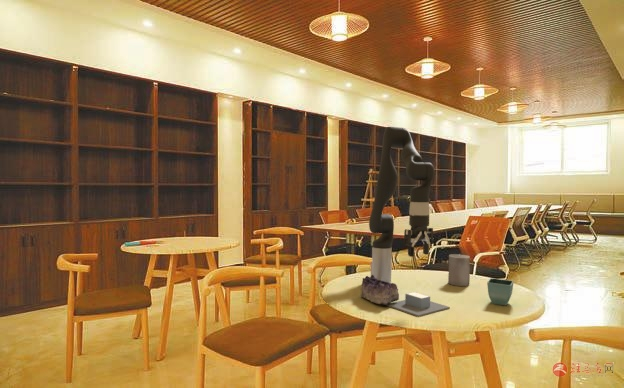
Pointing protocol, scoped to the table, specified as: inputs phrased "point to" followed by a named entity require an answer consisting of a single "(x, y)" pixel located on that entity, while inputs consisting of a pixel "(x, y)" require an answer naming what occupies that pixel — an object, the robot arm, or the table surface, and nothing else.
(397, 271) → the table surface
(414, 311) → the rubber mat
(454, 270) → the pillar candle
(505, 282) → the flower pot
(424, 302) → the card box
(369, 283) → the geode
